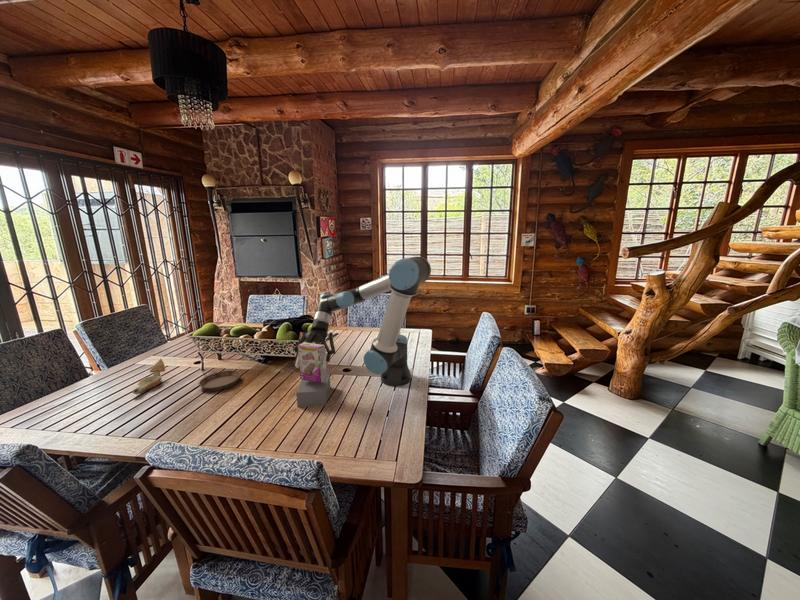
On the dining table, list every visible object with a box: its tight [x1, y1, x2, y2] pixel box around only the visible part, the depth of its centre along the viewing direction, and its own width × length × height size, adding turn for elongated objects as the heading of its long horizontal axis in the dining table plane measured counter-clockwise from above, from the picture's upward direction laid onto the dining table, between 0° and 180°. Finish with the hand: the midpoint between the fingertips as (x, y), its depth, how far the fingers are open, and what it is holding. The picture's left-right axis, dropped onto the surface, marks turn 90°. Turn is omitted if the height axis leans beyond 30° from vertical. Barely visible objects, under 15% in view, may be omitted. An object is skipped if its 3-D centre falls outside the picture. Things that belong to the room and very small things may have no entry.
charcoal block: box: [295, 373, 331, 408], centre depth 143 cm, size 12×16×7 cm
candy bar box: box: [298, 341, 328, 383], centre depth 140 cm, size 11×5×16 cm, turn 70°
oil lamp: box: [131, 358, 166, 395], centre depth 153 cm, size 9×21×10 cm, turn 6°
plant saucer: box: [198, 370, 241, 392], centre depth 156 cm, size 18×18×3 cm
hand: (310, 367), depth 138 cm, fingers closed on candy bar box, 12 cm apart
